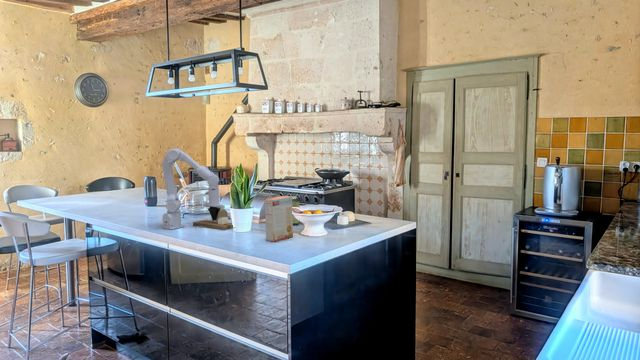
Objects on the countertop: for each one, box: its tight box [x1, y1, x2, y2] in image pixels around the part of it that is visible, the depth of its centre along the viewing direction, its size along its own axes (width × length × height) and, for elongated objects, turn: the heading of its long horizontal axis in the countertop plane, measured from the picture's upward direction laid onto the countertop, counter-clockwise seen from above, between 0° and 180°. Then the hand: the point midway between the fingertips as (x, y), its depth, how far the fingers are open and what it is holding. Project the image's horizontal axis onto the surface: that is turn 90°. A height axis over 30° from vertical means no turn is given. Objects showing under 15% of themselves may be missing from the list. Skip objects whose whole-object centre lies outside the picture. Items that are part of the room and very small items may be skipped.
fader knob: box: [217, 217, 229, 225], centre depth 254 cm, size 5×3×3 cm, turn 147°
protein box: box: [272, 196, 300, 227], centre depth 264 cm, size 10×16×16 cm
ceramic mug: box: [217, 208, 231, 220], centre depth 280 cm, size 11×8×8 cm
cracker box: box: [264, 195, 294, 243], centre depth 226 cm, size 14×6×21 cm, turn 141°
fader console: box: [192, 218, 234, 231], centre depth 258 cm, size 10×24×2 cm, turn 57°
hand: (214, 220), depth 258 cm, fingers closed
